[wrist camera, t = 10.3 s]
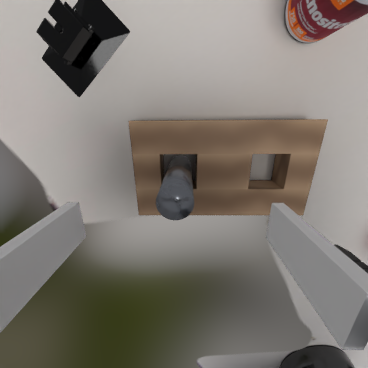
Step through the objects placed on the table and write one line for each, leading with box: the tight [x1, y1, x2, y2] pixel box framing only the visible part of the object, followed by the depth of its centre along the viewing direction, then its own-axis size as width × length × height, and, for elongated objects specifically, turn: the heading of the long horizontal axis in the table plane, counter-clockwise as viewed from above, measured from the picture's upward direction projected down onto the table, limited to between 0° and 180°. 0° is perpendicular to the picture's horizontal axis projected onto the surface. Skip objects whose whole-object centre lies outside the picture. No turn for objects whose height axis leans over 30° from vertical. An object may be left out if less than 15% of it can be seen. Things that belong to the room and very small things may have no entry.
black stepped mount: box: [36, 0, 130, 97], centre depth 19 cm, size 12×7×5 cm, turn 133°
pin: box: [156, 155, 194, 220], centre depth 19 cm, size 3×3×12 cm
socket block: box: [129, 119, 328, 215], centre depth 23 cm, size 12×22×4 cm, turn 90°
